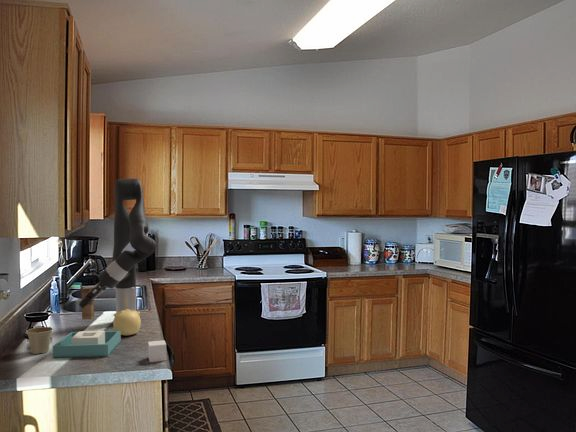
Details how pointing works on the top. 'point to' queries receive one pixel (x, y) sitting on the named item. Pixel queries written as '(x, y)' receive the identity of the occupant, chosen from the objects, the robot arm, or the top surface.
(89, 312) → the peg
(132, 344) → the top surface
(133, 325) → the sculpture
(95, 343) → the socket box
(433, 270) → the top surface
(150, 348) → the light grey cube
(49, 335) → the flower pot
